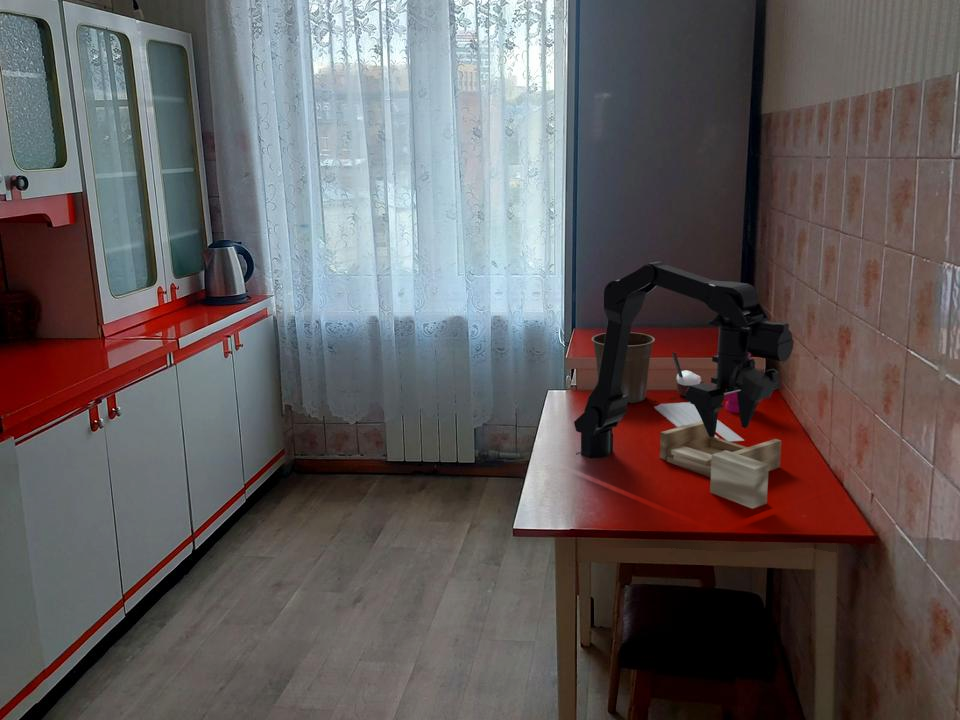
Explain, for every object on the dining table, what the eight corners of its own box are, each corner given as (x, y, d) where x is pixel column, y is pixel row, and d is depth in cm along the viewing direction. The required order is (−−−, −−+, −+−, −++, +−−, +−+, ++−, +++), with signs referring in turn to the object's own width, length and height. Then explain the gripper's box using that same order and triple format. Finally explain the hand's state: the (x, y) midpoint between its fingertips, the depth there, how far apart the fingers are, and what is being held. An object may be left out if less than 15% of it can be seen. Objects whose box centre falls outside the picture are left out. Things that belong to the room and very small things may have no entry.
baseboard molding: (692, 450, 204) (744, 447, 206) (693, 437, 203) (745, 434, 205) (648, 410, 234) (693, 407, 235) (648, 399, 233) (694, 396, 235)
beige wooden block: (752, 510, 168) (754, 469, 166) (710, 494, 176) (711, 454, 174) (766, 505, 170) (768, 464, 169) (724, 489, 178) (725, 450, 177)
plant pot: (638, 410, 232) (639, 347, 228) (580, 401, 241) (581, 341, 237) (662, 394, 246) (664, 335, 242) (607, 386, 254) (607, 329, 250)
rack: (730, 487, 180) (732, 456, 179) (659, 461, 196) (660, 432, 194) (779, 470, 189) (781, 440, 187) (708, 446, 204) (709, 418, 202)
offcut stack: (718, 480, 182) (718, 466, 181) (666, 461, 193) (666, 448, 192) (732, 476, 184) (733, 461, 183) (680, 457, 195) (680, 444, 195)
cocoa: (702, 393, 247) (705, 349, 244) (706, 399, 241) (709, 354, 238) (666, 392, 247) (669, 348, 245) (669, 398, 241) (672, 353, 239)
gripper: (733, 369, 159) (728, 454, 163) (802, 353, 169) (795, 434, 173) (685, 356, 168) (681, 437, 172) (753, 342, 178) (748, 419, 182)
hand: (728, 432), depth 174 cm, fingers open, 9 cm apart
